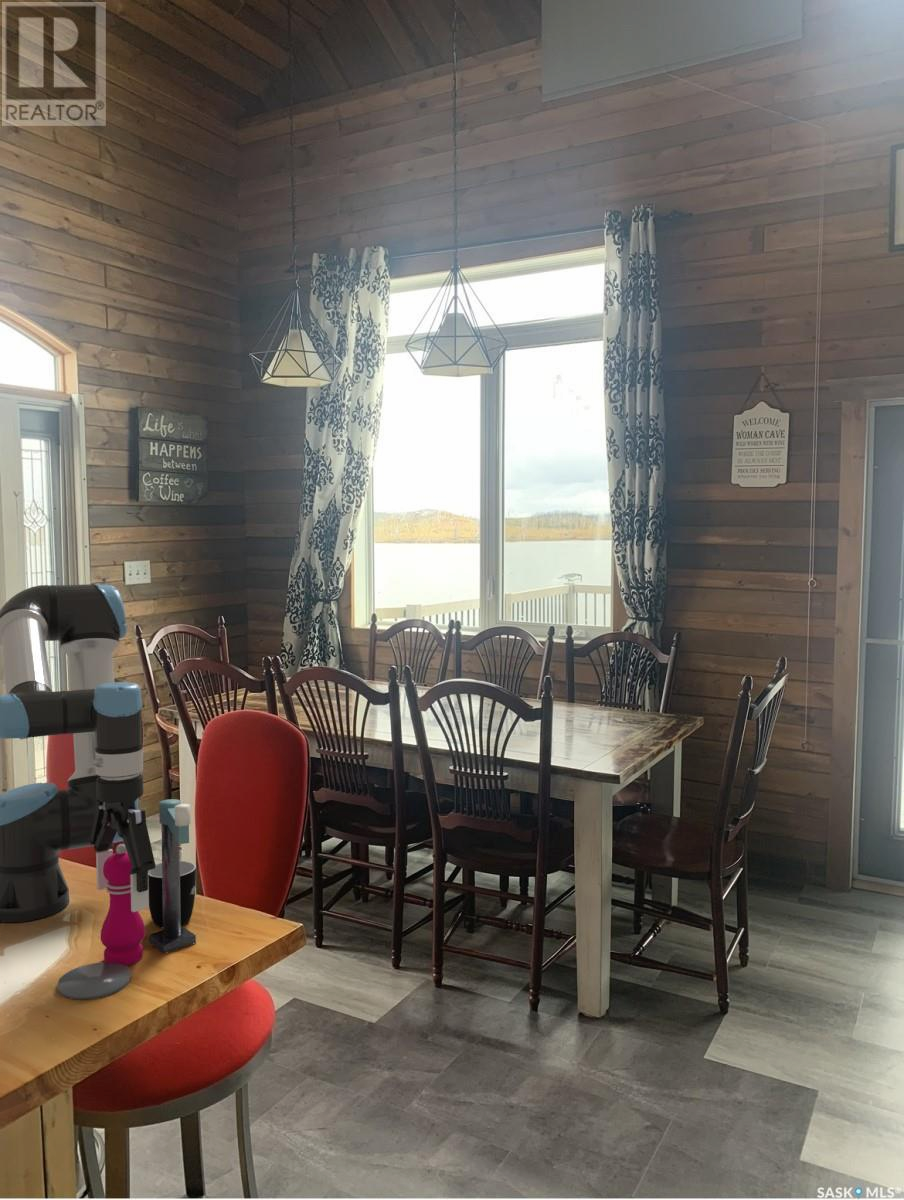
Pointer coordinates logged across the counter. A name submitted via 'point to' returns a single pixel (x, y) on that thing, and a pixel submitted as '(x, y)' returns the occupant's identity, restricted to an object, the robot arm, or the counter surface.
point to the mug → (185, 892)
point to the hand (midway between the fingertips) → (122, 898)
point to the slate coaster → (94, 980)
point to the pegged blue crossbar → (176, 818)
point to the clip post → (171, 899)
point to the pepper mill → (121, 913)
